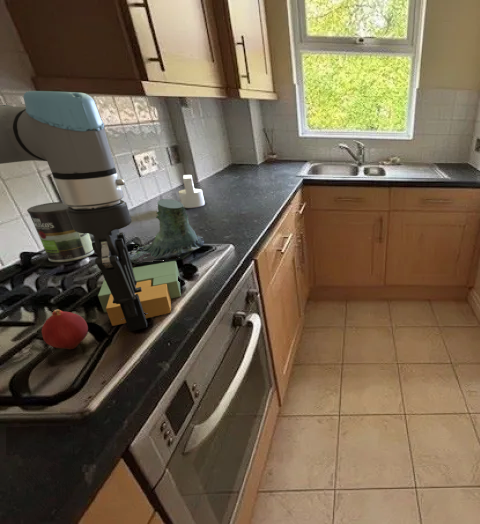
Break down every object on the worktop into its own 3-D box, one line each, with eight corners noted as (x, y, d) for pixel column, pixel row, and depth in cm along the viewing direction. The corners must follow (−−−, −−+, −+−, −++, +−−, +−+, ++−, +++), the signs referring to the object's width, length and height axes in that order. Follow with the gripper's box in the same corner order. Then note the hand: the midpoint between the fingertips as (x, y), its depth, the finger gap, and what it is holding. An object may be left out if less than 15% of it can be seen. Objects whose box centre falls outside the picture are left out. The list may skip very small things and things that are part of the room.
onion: (50, 347, 58) (31, 308, 55) (91, 333, 62) (75, 296, 58) (53, 363, 54) (33, 324, 51) (96, 348, 58) (80, 309, 55)
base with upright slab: (205, 206, 140) (199, 177, 135) (181, 208, 137) (174, 179, 131) (204, 201, 147) (199, 174, 142) (181, 203, 144) (175, 175, 139)
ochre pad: (112, 326, 64) (105, 308, 62) (118, 302, 71) (112, 286, 70) (171, 312, 68) (166, 296, 67) (170, 292, 76) (166, 276, 74)
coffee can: (68, 264, 88) (47, 213, 82) (38, 260, 90) (16, 209, 84) (104, 249, 97) (88, 202, 91) (77, 246, 99) (59, 200, 93)
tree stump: (158, 240, 106) (159, 185, 99) (217, 258, 105) (222, 205, 98) (109, 260, 89) (106, 197, 82) (179, 283, 88) (181, 221, 81)
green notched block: (104, 312, 68) (97, 296, 66) (111, 287, 77) (106, 272, 76) (180, 296, 74) (176, 281, 73) (179, 274, 84) (175, 260, 82)
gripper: (120, 210, 48) (161, 341, 58) (128, 191, 58) (162, 305, 68) (53, 217, 44) (109, 354, 54) (74, 196, 55) (118, 315, 65)
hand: (138, 327), depth 61 cm, fingers closed
